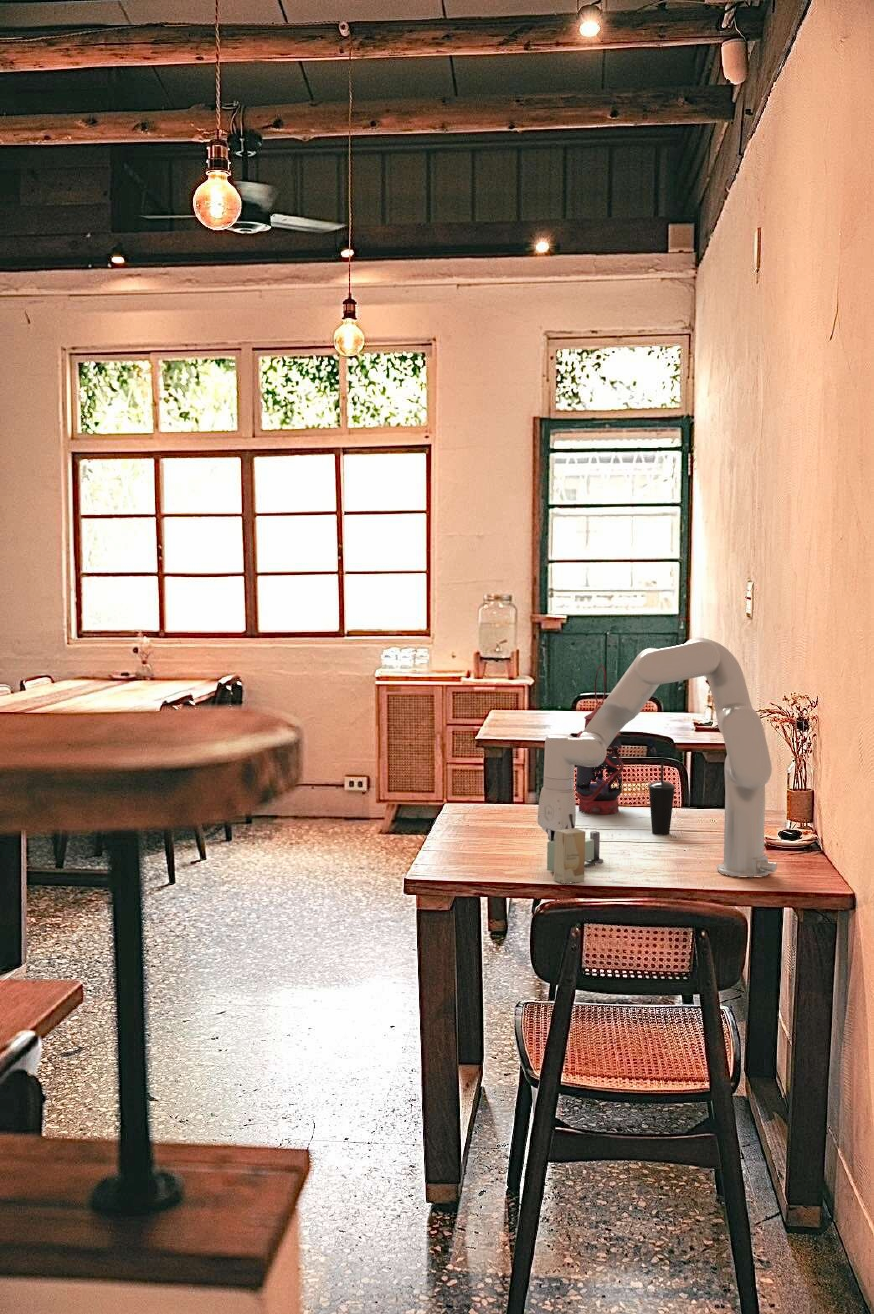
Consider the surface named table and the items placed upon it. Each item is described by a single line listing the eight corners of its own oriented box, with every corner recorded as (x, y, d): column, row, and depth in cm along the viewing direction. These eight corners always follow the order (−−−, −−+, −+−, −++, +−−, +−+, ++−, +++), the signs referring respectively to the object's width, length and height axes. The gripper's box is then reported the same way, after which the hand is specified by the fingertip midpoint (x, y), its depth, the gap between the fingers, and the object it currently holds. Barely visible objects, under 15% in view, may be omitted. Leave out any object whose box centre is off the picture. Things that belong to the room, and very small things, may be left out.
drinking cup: (674, 837, 338) (676, 765, 336) (646, 835, 339) (648, 764, 338) (674, 831, 345) (676, 761, 344) (647, 830, 347) (648, 760, 345)
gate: (586, 859, 308) (587, 832, 308) (594, 861, 307) (595, 834, 306) (547, 870, 298) (547, 842, 297) (554, 872, 296) (555, 843, 295)
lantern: (583, 804, 384) (585, 662, 381) (628, 808, 378) (631, 664, 375) (569, 813, 369) (571, 666, 366) (616, 817, 364) (618, 668, 361)
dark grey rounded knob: (606, 861, 309) (607, 832, 308) (595, 864, 306) (596, 835, 305) (593, 858, 312) (593, 829, 311) (582, 861, 309) (582, 832, 308)
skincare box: (564, 885, 286) (565, 833, 285) (553, 881, 289) (553, 830, 288) (585, 881, 289) (586, 830, 288) (574, 877, 293) (575, 827, 292)
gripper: (528, 780, 306) (525, 852, 307) (565, 790, 294) (563, 865, 295) (551, 778, 310) (549, 849, 312) (589, 788, 298) (586, 861, 299)
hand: (555, 856), depth 303 cm, fingers closed
